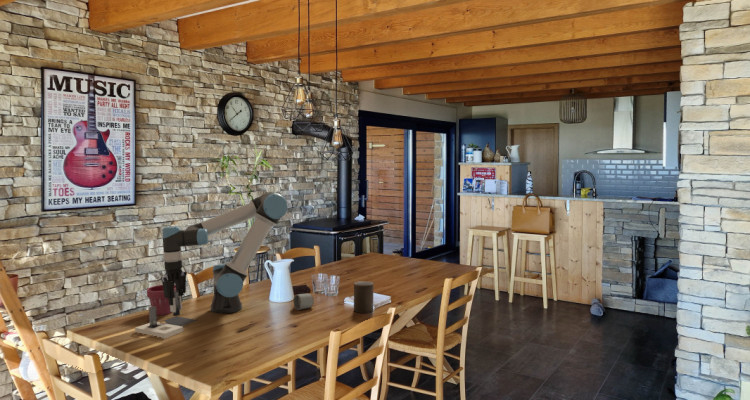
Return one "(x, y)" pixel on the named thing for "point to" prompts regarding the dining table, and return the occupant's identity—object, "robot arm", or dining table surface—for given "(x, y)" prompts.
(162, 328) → the hole board
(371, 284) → the pillar candle
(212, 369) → the dining table surface
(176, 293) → the peg
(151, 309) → the seated peg
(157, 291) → the plant pot
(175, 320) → the mat
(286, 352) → the dining table surface
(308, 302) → the grey cylinder
